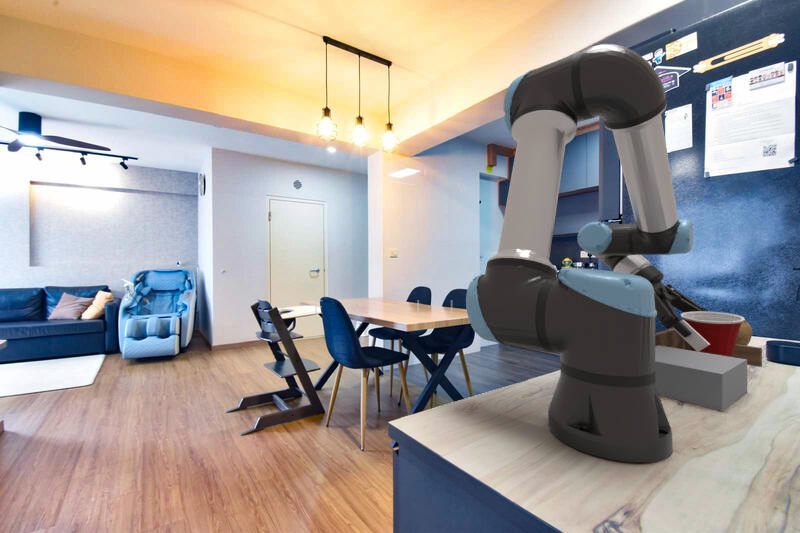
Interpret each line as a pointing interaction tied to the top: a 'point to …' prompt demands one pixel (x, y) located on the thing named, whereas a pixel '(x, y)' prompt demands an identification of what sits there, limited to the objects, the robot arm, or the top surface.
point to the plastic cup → (715, 330)
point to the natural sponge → (744, 334)
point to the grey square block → (700, 377)
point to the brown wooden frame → (676, 341)
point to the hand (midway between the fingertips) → (714, 343)
